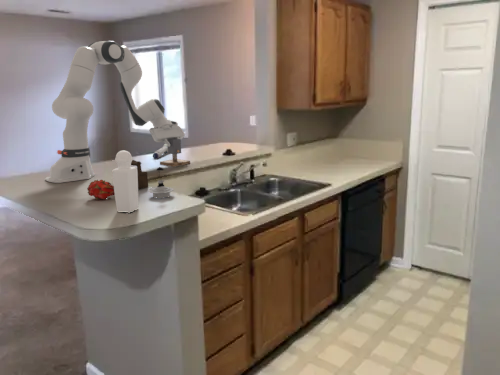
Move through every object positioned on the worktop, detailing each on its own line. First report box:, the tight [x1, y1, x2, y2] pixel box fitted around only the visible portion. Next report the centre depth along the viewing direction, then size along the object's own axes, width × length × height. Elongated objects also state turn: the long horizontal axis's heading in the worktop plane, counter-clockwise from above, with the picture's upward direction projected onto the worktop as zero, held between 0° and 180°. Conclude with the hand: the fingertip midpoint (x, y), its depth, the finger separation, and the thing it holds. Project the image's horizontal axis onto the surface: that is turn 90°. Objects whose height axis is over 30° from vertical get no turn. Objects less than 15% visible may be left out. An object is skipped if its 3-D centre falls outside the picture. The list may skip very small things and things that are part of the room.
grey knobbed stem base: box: [148, 166, 175, 199], centre depth 174 cm, size 12×10×10 cm
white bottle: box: [111, 149, 140, 212], centre depth 153 cm, size 6×6×22 cm
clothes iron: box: [131, 159, 149, 190], centre depth 192 cm, size 8×16×13 cm, turn 44°
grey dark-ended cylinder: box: [152, 143, 169, 159], centre depth 277 cm, size 5×7×25 cm
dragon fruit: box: [87, 179, 115, 200], centre depth 172 cm, size 8×8×12 cm
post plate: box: [159, 154, 191, 168], centre depth 246 cm, size 12×12×10 cm
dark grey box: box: [167, 138, 182, 155], centre depth 245 cm, size 5×6×8 cm
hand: (175, 145), depth 244 cm, fingers closed on dark grey box, 5 cm apart
